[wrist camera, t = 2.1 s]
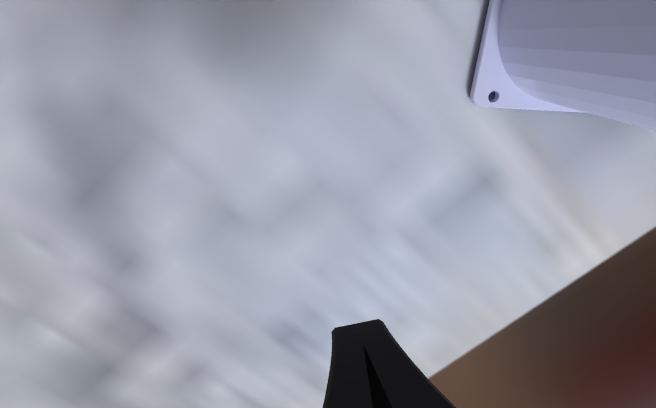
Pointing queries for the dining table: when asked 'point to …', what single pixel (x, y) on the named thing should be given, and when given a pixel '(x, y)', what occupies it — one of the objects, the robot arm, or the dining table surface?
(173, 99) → the dining table surface
